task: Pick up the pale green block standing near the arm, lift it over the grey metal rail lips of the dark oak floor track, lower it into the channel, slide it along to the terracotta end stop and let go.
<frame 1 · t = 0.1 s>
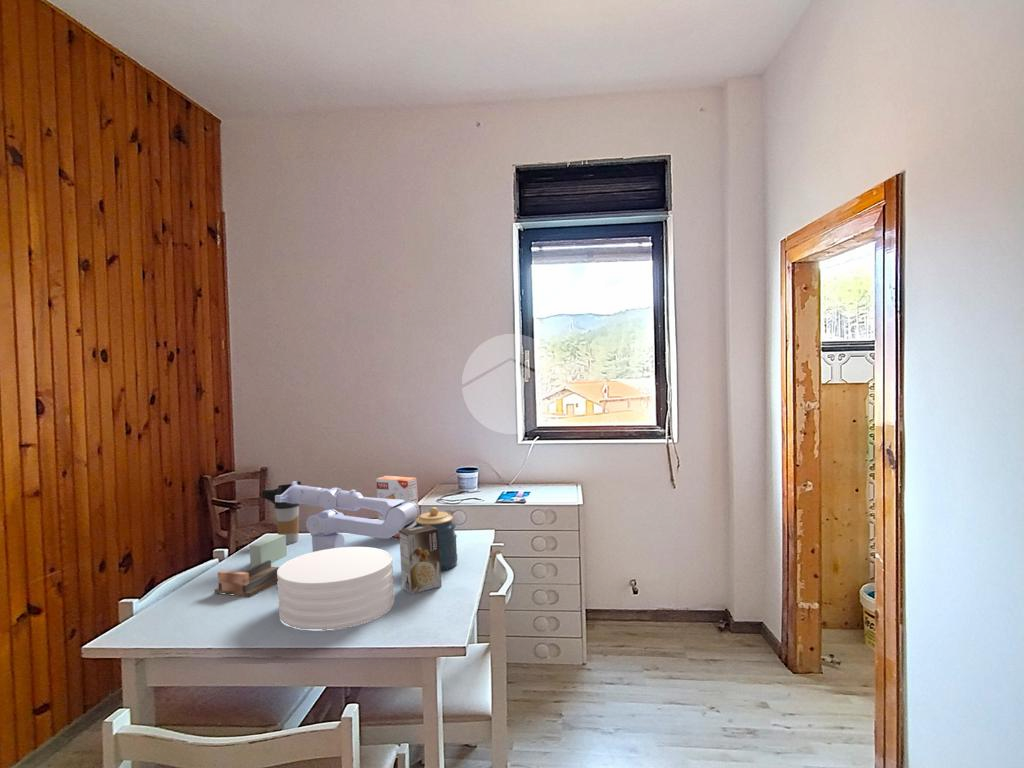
hand: (271, 491, 201), 22 cm above the table, tool horizontal, fingers open, 7 cm apart
plate stack: (338, 608, 158), on the table
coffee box: (421, 588, 169), on the table
pale green block: (269, 561, 198), on the table
cracker box: (399, 536, 222), on the table
canister: (436, 565, 188), on the table
coffee cup: (288, 542, 219), on the table
track: (257, 582, 179), on the table
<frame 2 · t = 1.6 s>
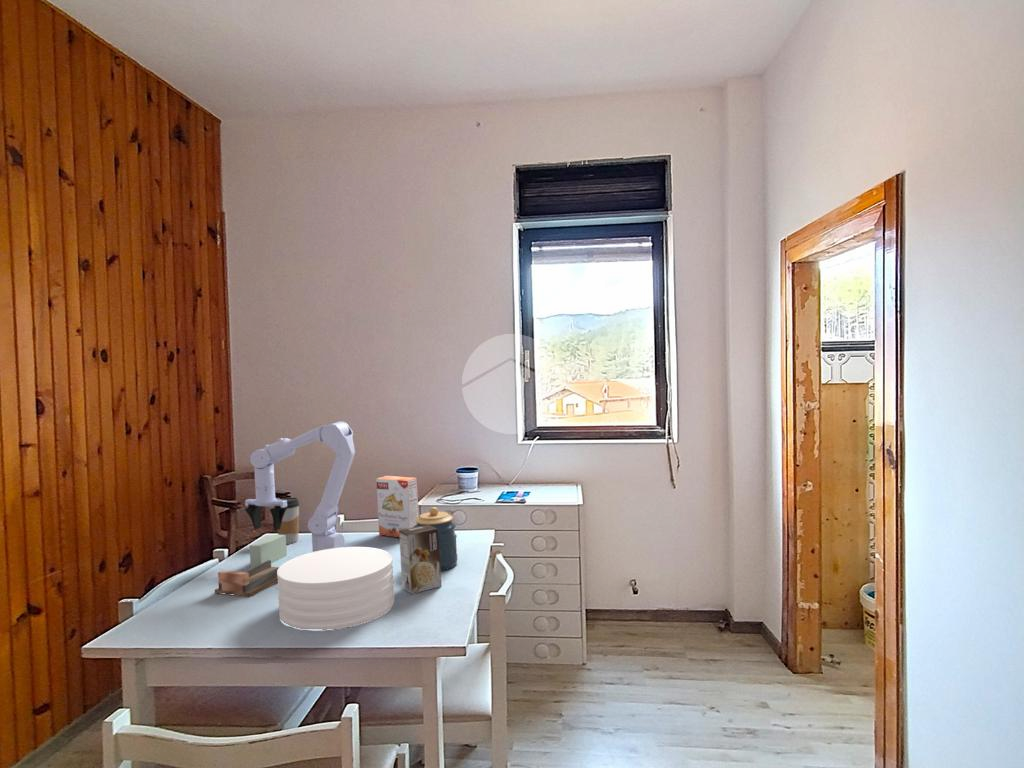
hand: (267, 528, 197), 10 cm above the table, tool pointing down, fingers open, 7 cm apart
nothing on the table moved.
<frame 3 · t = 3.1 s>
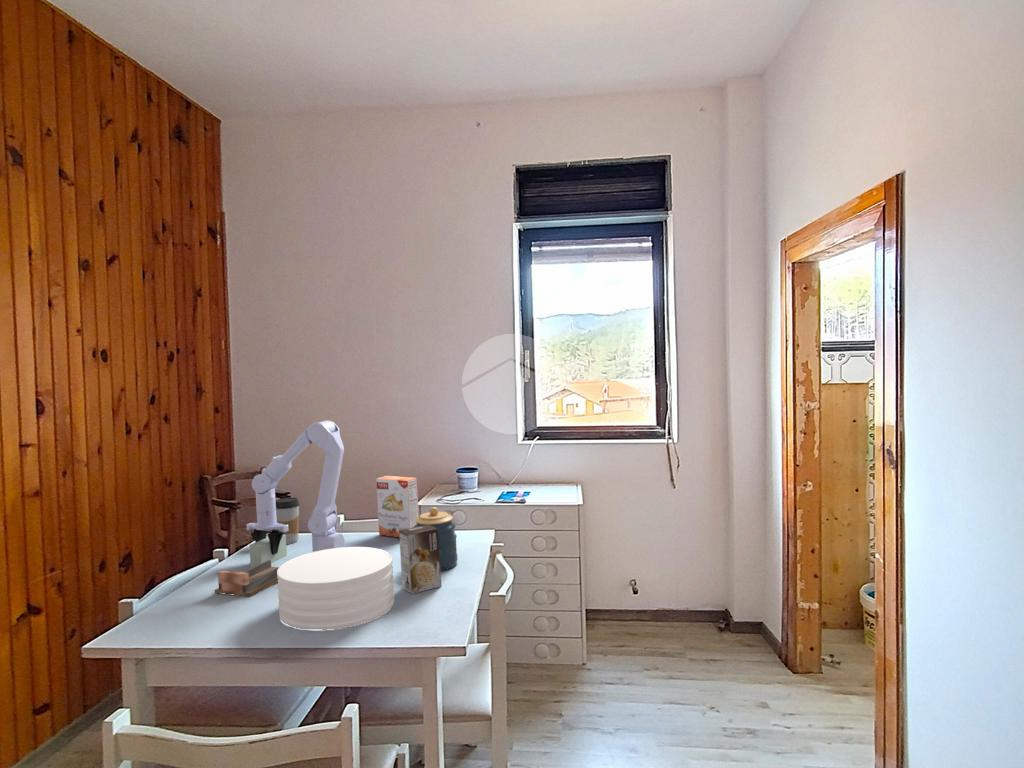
hand: (268, 553, 198), 3 cm above the table, tool pointing down, fingers closed on pale green block, 4 cm apart
pale green block: (269, 561, 198), on the table, touching gripper
everything else where it was.
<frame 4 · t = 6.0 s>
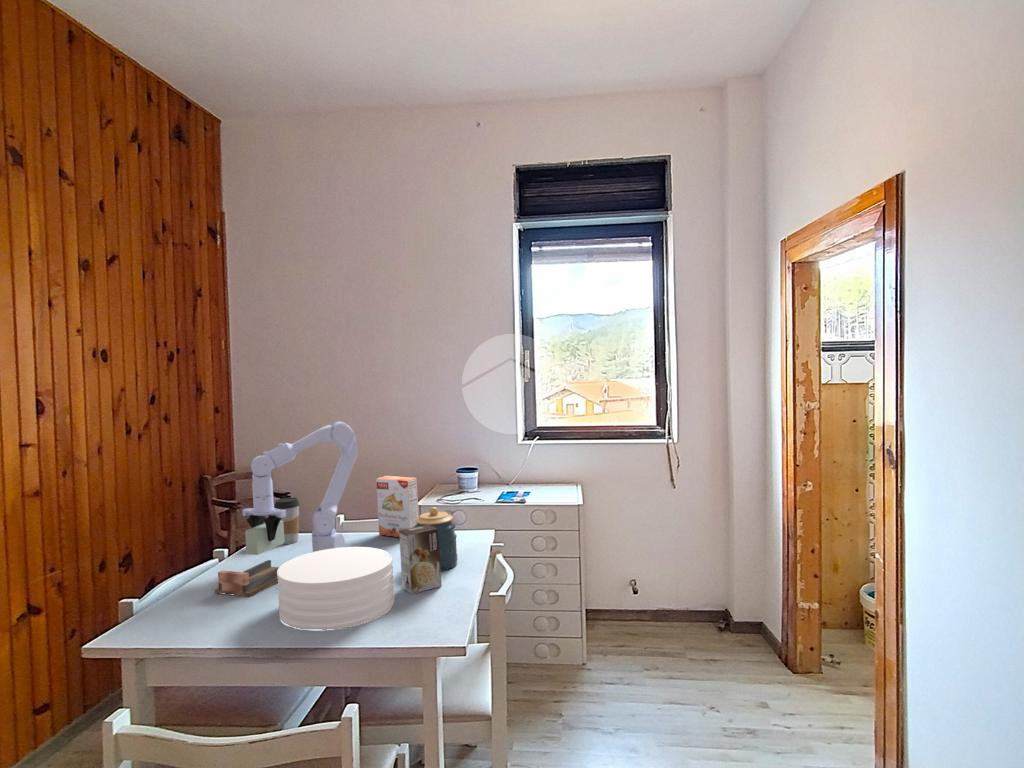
hand: (265, 539, 189), 9 cm above the table, tool pointing down, fingers closed on pale green block, 4 cm apart
pale green block: (266, 548, 189), point 7 cm above the table, touching gripper
everything else where it was.
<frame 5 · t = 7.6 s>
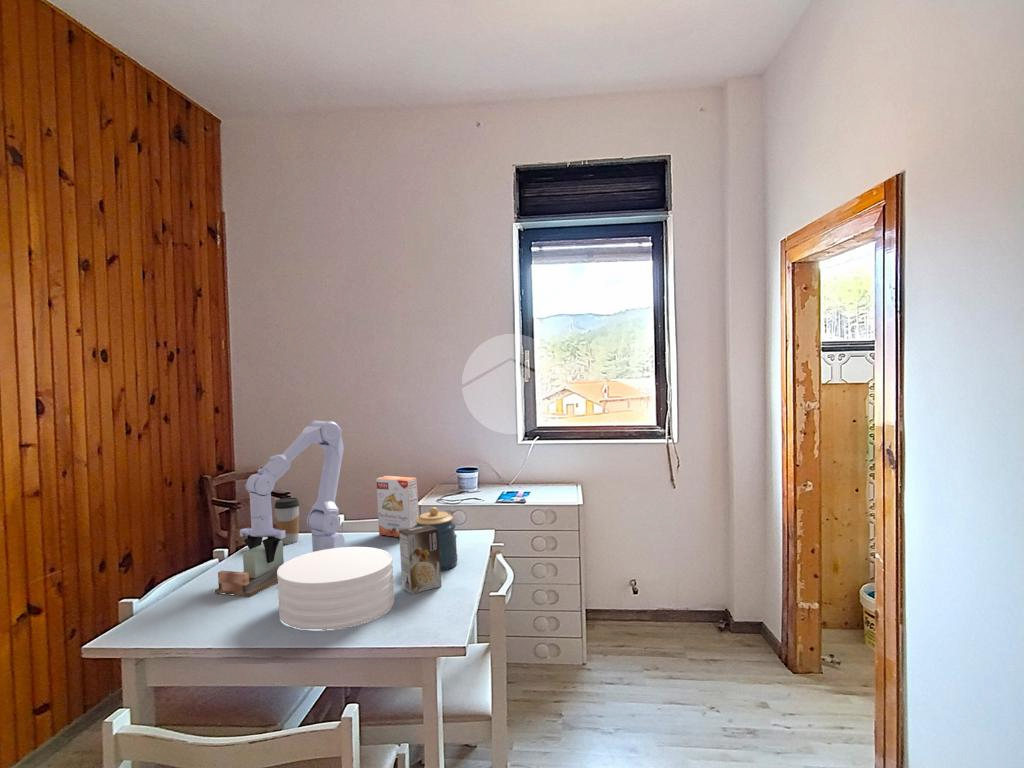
hand: (264, 561, 181), 5 cm above the table, tool pointing down, fingers closed on pale green block, 4 cm apart
pale green block: (264, 570, 181), point 2 cm above the table, touching gripper
everything else where it was.
when the fingers open (5 cm above the table, at t = 8.9 s): pale green block drops 1 cm, resting on track.
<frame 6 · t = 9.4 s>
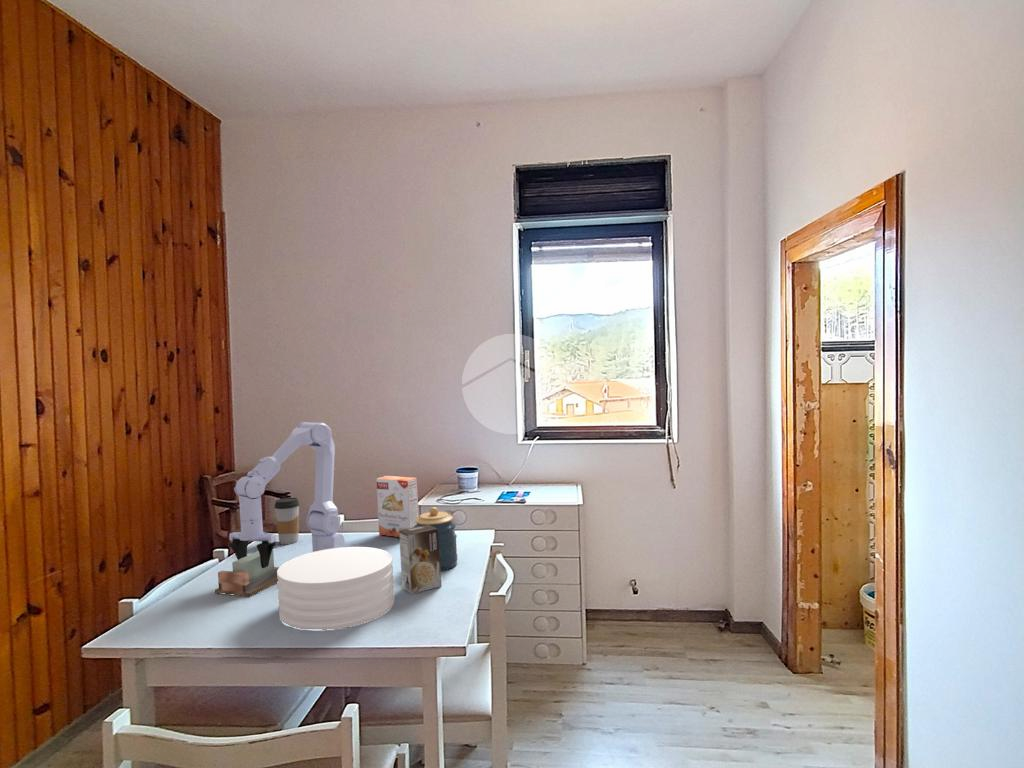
hand: (254, 566, 177), 5 cm above the table, tool pointing down, fingers open, 7 cm apart
pale green block: (254, 580, 177), point 1 cm above the table, touching track
everything else where it was.
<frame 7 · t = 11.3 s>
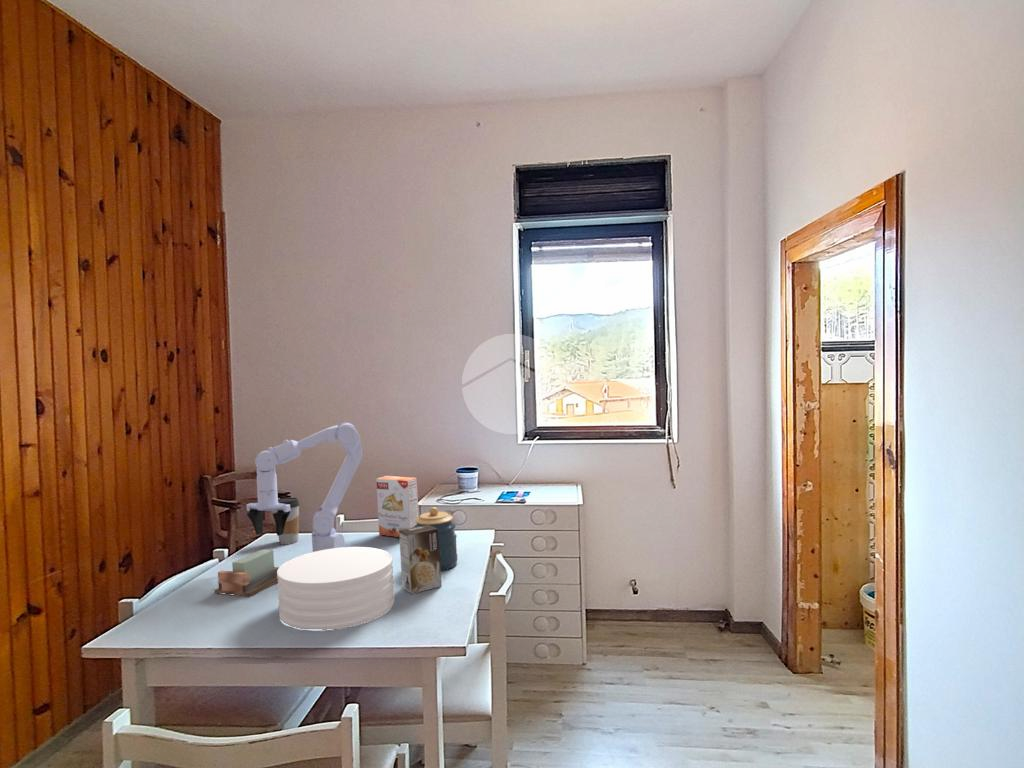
hand: (269, 534, 191), 10 cm above the table, tool pointing down, fingers open, 7 cm apart
nothing on the table moved.
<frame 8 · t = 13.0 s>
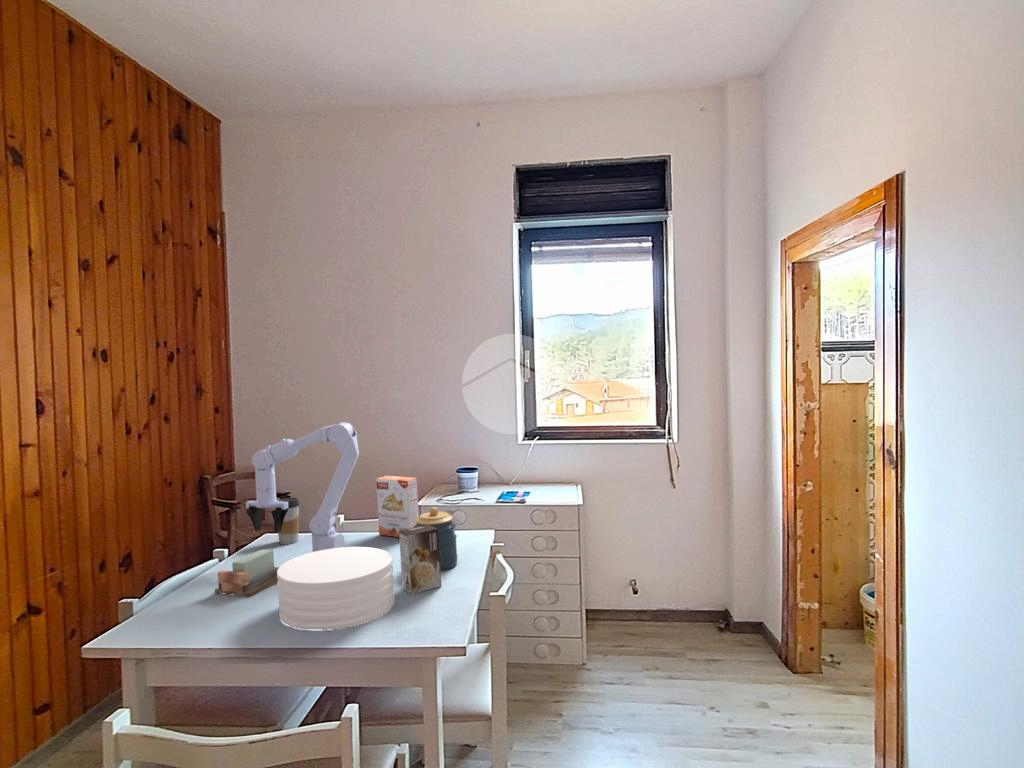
hand: (268, 530, 195), 10 cm above the table, tool pointing down, fingers open, 7 cm apart
nothing on the table moved.
at the end: pale green block 0.1 cm from the target spot on the track, point 1.0 cm above the track's base; pale green block tilted 0°; the gripper is holding nothing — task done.
